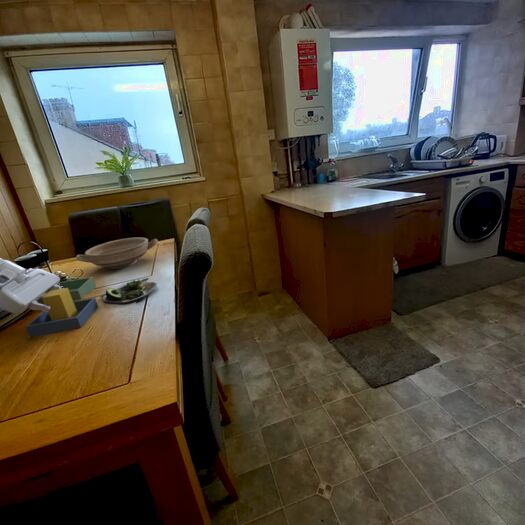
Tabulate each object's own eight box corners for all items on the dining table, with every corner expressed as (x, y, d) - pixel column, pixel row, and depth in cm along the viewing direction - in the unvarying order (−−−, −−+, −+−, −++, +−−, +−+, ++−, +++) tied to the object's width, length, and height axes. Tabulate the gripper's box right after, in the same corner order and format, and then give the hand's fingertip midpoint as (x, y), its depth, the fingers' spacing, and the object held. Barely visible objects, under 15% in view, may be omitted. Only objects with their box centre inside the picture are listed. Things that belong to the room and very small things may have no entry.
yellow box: (54, 326, 85) (41, 297, 82) (62, 318, 90) (50, 290, 87) (71, 323, 86) (59, 294, 83) (78, 315, 91) (67, 287, 87)
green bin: (41, 307, 102) (36, 297, 101) (59, 292, 114) (56, 282, 113) (81, 300, 104) (77, 290, 102) (96, 286, 116) (92, 276, 114)
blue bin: (31, 339, 81) (25, 326, 80) (55, 316, 94) (50, 305, 92) (82, 329, 83) (77, 317, 81) (99, 308, 95) (95, 297, 94)
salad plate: (133, 281, 116) (130, 271, 114) (168, 282, 110) (166, 272, 108) (94, 304, 99) (89, 293, 97) (133, 307, 93) (130, 295, 91)
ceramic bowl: (158, 249, 160) (154, 232, 156) (164, 262, 135) (159, 242, 132) (86, 265, 146) (79, 247, 143) (77, 283, 122) (69, 262, 118)
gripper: (27, 274, 91) (69, 295, 96) (-22, 303, 72) (33, 327, 77) (36, 259, 90) (78, 281, 95) (-12, 284, 71) (44, 310, 76)
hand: (58, 302), depth 86 cm, fingers open, 8 cm apart
